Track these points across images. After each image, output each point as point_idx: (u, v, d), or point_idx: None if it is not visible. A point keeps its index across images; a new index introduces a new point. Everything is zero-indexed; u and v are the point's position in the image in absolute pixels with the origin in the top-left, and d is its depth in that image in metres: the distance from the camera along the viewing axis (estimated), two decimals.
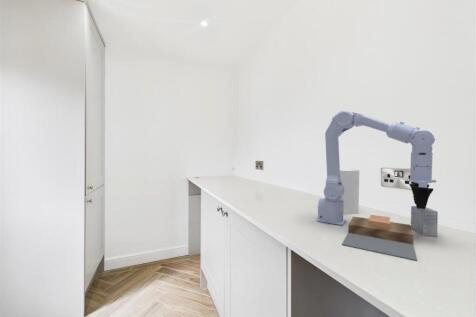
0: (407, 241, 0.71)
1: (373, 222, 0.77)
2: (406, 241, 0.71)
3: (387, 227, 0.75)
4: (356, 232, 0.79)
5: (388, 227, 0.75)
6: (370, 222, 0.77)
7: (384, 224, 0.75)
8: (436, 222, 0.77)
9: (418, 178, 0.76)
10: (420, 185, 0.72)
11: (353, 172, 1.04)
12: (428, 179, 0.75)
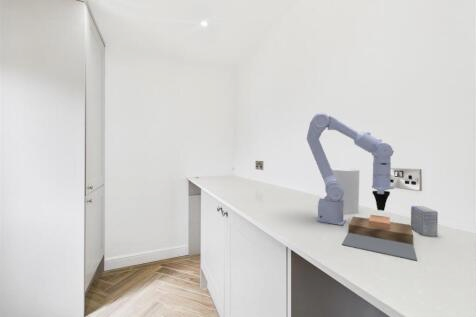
0: (407, 241, 0.71)
1: (373, 222, 0.77)
2: (406, 241, 0.71)
3: (387, 227, 0.75)
4: (356, 232, 0.79)
5: (388, 227, 0.75)
6: (370, 222, 0.77)
7: (384, 224, 0.75)
8: (436, 222, 0.77)
9: (378, 185, 0.86)
10: (378, 192, 0.82)
11: (353, 172, 1.04)
12: (386, 186, 0.85)
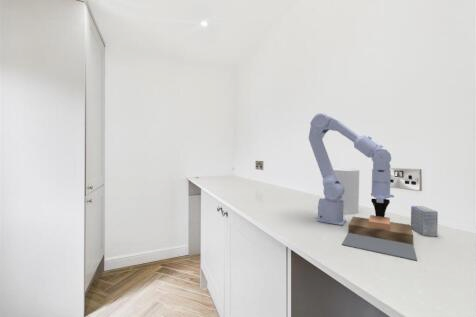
0: (407, 241, 0.71)
1: (373, 223, 0.76)
2: (406, 241, 0.71)
3: (387, 228, 0.74)
4: (356, 232, 0.79)
5: (388, 228, 0.74)
6: (370, 223, 0.77)
7: (384, 225, 0.75)
8: (436, 222, 0.77)
9: (377, 193, 0.82)
10: (377, 200, 0.78)
11: (353, 172, 1.04)
12: (386, 194, 0.81)
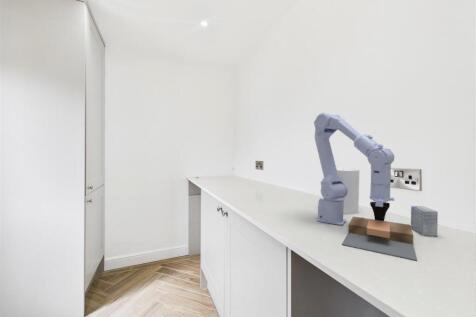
0: (407, 241, 0.71)
1: (372, 230, 0.71)
2: (406, 241, 0.71)
3: (387, 235, 0.69)
4: (356, 232, 0.79)
5: (388, 235, 0.68)
6: (368, 230, 0.71)
7: (383, 232, 0.69)
8: (436, 222, 0.77)
9: (376, 196, 0.76)
10: (376, 204, 0.72)
11: (353, 172, 1.04)
12: (386, 197, 0.75)
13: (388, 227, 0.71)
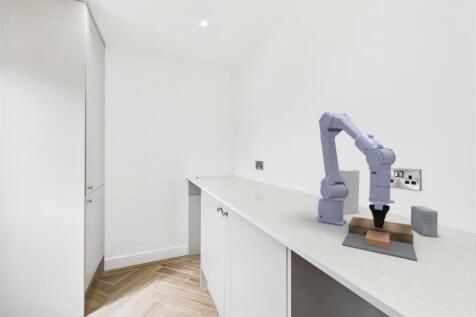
0: (407, 241, 0.71)
1: (370, 240, 0.68)
2: (406, 241, 0.71)
3: (386, 246, 0.66)
4: (356, 232, 0.79)
5: (387, 246, 0.66)
6: (367, 240, 0.69)
7: (383, 243, 0.66)
8: (436, 222, 0.77)
9: (376, 198, 0.72)
10: (376, 207, 0.68)
11: (353, 172, 1.04)
12: (386, 200, 0.71)
13: (387, 238, 0.69)
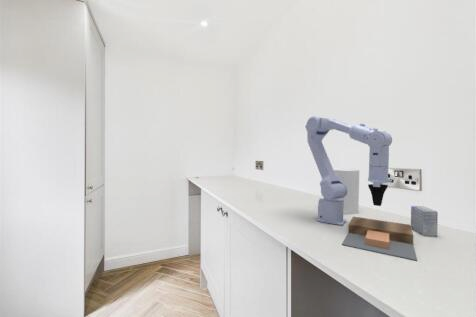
0: (407, 241, 0.71)
1: (370, 240, 0.68)
2: (406, 241, 0.71)
3: (386, 246, 0.66)
4: (356, 232, 0.79)
5: (387, 246, 0.66)
6: (367, 240, 0.69)
7: (383, 243, 0.66)
8: (436, 222, 0.77)
9: (374, 178, 0.77)
10: (374, 184, 0.74)
11: (353, 172, 1.04)
12: (384, 179, 0.76)
13: (387, 238, 0.69)
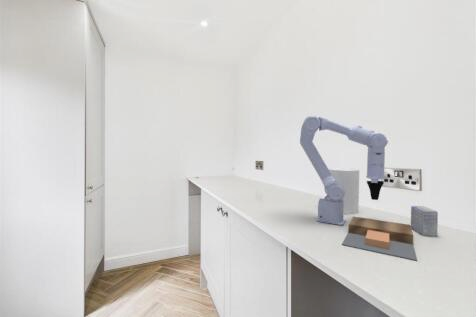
0: (407, 241, 0.71)
1: (370, 240, 0.68)
2: (406, 241, 0.71)
3: (386, 246, 0.66)
4: (356, 232, 0.79)
5: (387, 246, 0.66)
6: (367, 240, 0.69)
7: (383, 243, 0.66)
8: (436, 222, 0.77)
9: (372, 175, 0.87)
10: (372, 181, 0.83)
11: (353, 172, 1.04)
12: (380, 176, 0.86)
13: (387, 238, 0.69)
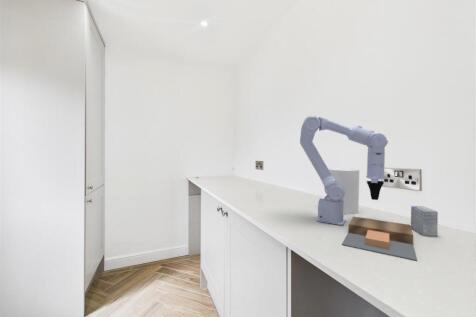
0: (407, 241, 0.71)
1: (370, 240, 0.68)
2: (406, 241, 0.71)
3: (386, 246, 0.66)
4: (356, 232, 0.79)
5: (387, 246, 0.66)
6: (367, 240, 0.69)
7: (383, 243, 0.66)
8: (436, 222, 0.77)
9: (372, 175, 0.87)
10: (372, 181, 0.83)
11: (353, 172, 1.04)
12: (380, 176, 0.86)
13: (387, 238, 0.69)
